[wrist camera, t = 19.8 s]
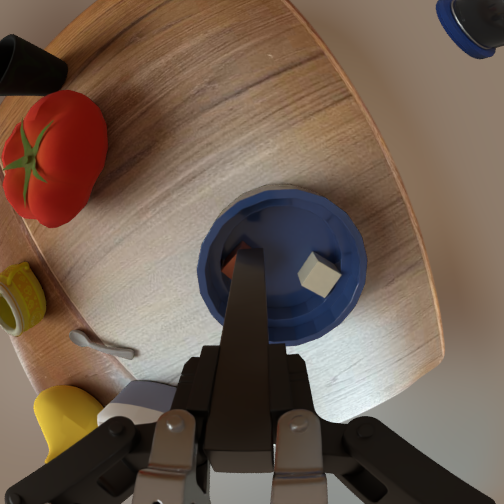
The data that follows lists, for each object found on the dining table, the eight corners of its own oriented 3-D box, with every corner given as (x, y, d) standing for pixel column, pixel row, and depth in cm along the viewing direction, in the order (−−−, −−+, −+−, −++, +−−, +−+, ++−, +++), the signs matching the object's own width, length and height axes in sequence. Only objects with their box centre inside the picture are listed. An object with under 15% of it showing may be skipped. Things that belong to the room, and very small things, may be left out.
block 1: (263, 258, 31) (264, 269, 28) (245, 277, 32) (244, 289, 29) (242, 240, 30) (240, 249, 27) (223, 260, 31) (220, 271, 28)
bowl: (133, 417, 43) (116, 459, 32) (111, 364, 38) (84, 410, 27) (207, 430, 43) (199, 477, 32) (199, 378, 38) (186, 435, 27)
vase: (39, 365, 40) (-4, 422, 22) (100, 377, 39) (56, 455, 21) (75, 419, 46) (47, 473, 28) (135, 433, 45) (112, 501, 27)
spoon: (70, 324, 36) (65, 331, 34) (135, 343, 37) (131, 351, 35) (73, 338, 37) (68, 345, 35) (136, 357, 38) (132, 365, 36)
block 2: (334, 263, 31) (341, 274, 28) (319, 285, 32) (325, 298, 29) (312, 250, 30) (318, 260, 27) (297, 273, 31) (301, 285, 28)
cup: (80, 74, 24) (20, 54, 12) (45, 113, 25) (-16, 109, 14) (64, 45, 22) (11, 23, 10) (31, 82, 23) (-23, 74, 12)
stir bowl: (349, 182, 28) (370, 187, 23) (344, 312, 34) (357, 338, 28) (200, 189, 29) (186, 196, 23) (216, 320, 34) (210, 349, 29)
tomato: (144, 124, 27) (99, 113, 17) (86, 237, 31) (40, 264, 22) (71, 81, 24) (23, 68, 15) (26, 184, 28) (-21, 196, 19)
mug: (47, 328, 37) (11, 367, 25) (10, 294, 35) (-29, 324, 23) (57, 275, 33) (7, 313, 22) (15, 238, 31) (-35, 264, 20)
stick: (263, 247, 21) (273, 449, 6) (264, 271, 22) (274, 473, 7) (237, 248, 21) (201, 448, 6) (239, 272, 22) (213, 472, 7)
